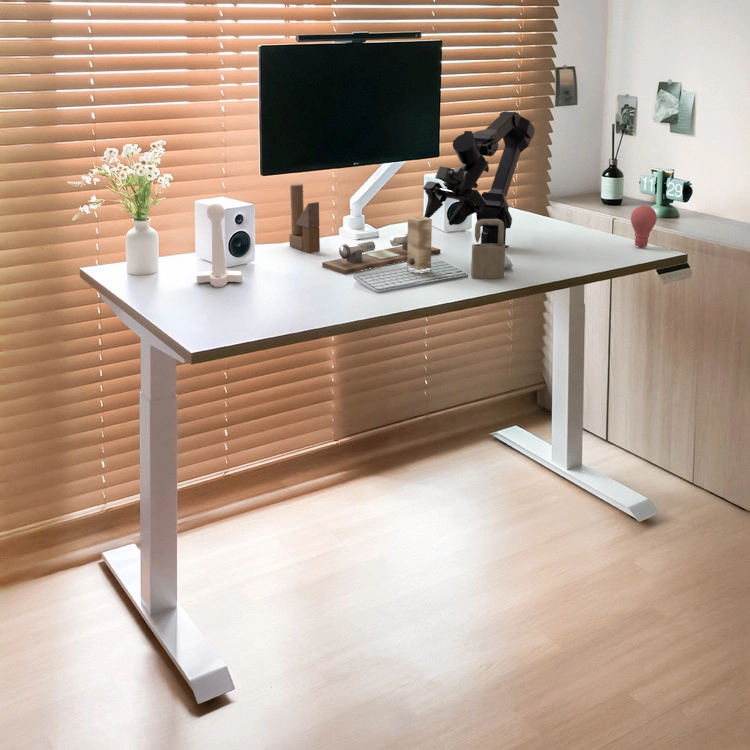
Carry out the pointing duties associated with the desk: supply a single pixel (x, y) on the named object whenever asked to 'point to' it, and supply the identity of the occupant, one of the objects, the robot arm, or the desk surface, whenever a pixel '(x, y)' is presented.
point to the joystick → (218, 252)
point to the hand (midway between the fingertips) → (437, 221)
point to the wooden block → (304, 222)
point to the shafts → (368, 248)
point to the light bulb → (643, 224)
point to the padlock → (488, 253)
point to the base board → (372, 260)
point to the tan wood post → (419, 242)
